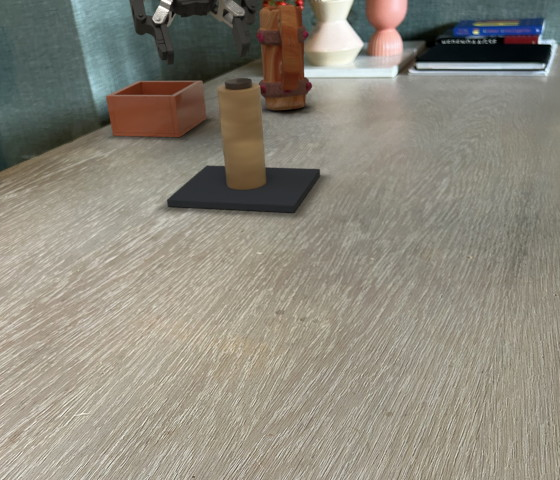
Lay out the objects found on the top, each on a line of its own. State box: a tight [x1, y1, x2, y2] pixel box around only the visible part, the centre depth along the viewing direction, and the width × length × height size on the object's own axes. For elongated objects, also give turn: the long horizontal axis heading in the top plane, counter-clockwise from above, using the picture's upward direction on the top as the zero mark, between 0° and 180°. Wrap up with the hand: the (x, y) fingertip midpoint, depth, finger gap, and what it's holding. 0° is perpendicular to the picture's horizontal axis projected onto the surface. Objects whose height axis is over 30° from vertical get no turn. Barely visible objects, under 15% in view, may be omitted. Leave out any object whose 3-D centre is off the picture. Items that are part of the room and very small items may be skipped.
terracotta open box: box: [105, 80, 207, 138], centre depth 99 cm, size 11×11×6 cm
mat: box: [166, 165, 321, 214], centre depth 74 cm, size 14×12×1 cm
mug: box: [255, 4, 313, 111], centre depth 100 cm, size 15×8×15 cm, turn 6°
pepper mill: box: [216, 77, 266, 190], centre depth 71 cm, size 4×4×11 cm
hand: (208, 56), depth 76 cm, fingers open, 8 cm apart
